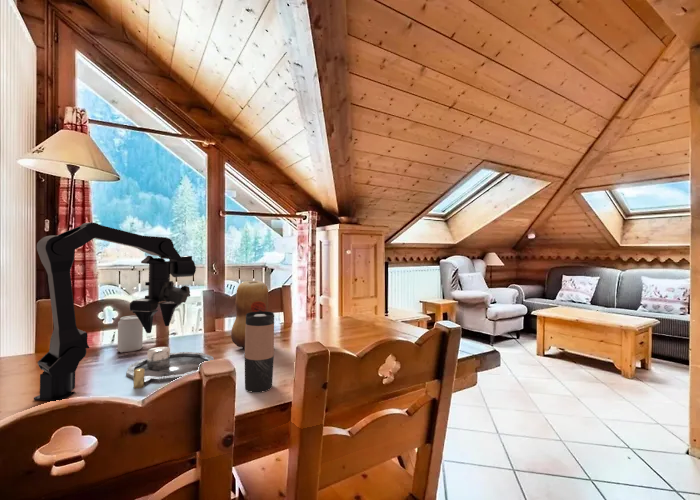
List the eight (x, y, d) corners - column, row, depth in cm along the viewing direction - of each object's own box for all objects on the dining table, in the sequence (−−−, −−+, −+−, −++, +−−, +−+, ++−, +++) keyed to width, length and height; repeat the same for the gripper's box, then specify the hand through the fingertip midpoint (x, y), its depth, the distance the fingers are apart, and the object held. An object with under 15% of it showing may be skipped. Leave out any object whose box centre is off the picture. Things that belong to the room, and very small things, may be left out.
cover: (161, 370, 103) (162, 353, 103) (142, 369, 104) (143, 352, 104) (173, 363, 109) (174, 347, 109) (155, 362, 110) (155, 346, 110)
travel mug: (275, 382, 99) (276, 311, 98) (270, 393, 91) (271, 317, 91) (248, 381, 99) (249, 310, 98) (240, 393, 91) (242, 316, 91)
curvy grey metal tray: (178, 393, 89) (179, 374, 89) (93, 388, 91) (93, 369, 91) (226, 358, 117) (226, 343, 117) (160, 355, 119) (160, 340, 119)
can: (130, 354, 119) (131, 319, 119) (111, 353, 120) (112, 318, 120) (147, 348, 126) (148, 315, 126) (129, 346, 128) (130, 314, 128)
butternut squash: (239, 356, 120) (241, 283, 120) (225, 346, 131) (227, 280, 130) (276, 349, 129) (277, 281, 129) (260, 341, 140) (261, 278, 139)
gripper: (167, 282, 97) (166, 338, 97) (200, 276, 115) (198, 323, 116) (128, 280, 97) (127, 336, 98) (167, 275, 116) (166, 322, 116)
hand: (158, 329), depth 107 cm, fingers open, 9 cm apart
